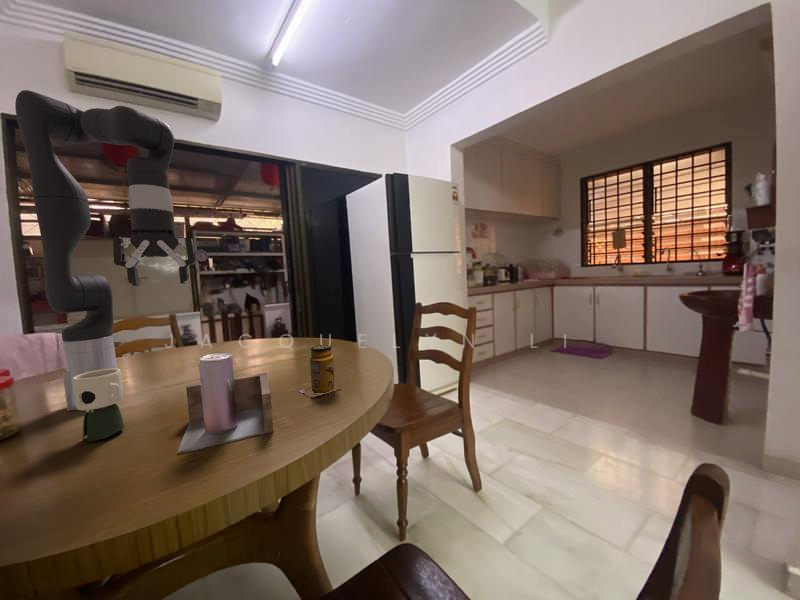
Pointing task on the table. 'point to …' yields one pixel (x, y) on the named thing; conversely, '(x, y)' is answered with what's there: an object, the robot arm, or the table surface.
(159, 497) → the table surface
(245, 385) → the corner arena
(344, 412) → the table surface
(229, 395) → the beverage can
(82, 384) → the character mug
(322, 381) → the condiment
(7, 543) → the table surface
